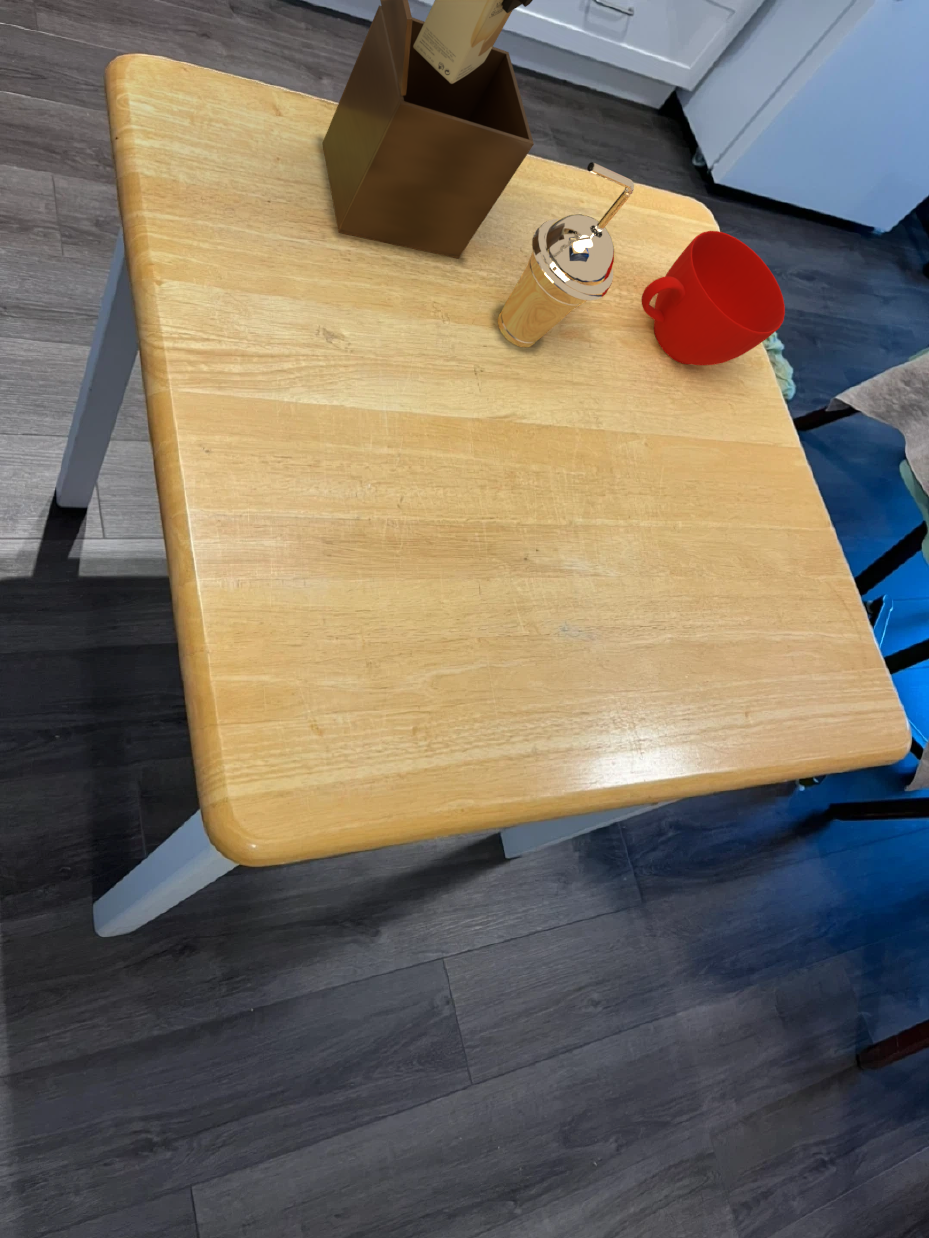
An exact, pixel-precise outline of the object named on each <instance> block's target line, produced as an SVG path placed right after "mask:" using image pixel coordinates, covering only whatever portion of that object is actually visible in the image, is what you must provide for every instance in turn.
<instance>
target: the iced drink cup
mask: <svg viewBox="0 0 929 1238" xmlns="http://www.w3.org/2000/svg"><path fill="white" fill-rule="evenodd" d="M586 169H587V172H589V173H592V174H593V175H596V176H598V177H600V178H602V179H605V180H608V181H609V182H611V183H614V184H616V185H618V186H620V187H623V188H624V189H623V191H622V192H621V193H620V195H619V196H618V197H617V198H616V200H615V201H614V202H613V203H612V205H611V206H610V207H609V208H608V210H606V212H605V214H604V215H603V216H602V217H601V218H600V220H597V219H596V218H595V217H592V216H590V215H586V214H580V213H579V214H578V213H577V214H575V213H574V214H569V215H567V216H563V217H561V218H552V219H548V220H546V221H545V222H543V223H542V224H541V225H540V226H539V227H537V228H536V229H535V231H534V233H533V235H532V238H531V239H532V240H531V247H532V251H531V255H530V257H529V258H528V261H527V265H526V267H525V268H524V270H523V272H522V274H521V276H520V277H519V279H518V281H517V283H516V284H515V286H514V288H513V289H512V291H511V292H510V295H509V297H508V298H507V300H506V302H505V303H504V305H503V306H502V307H503V308H502V310H501V312H500V313H499V314H498V317H497V326H498V328H499V330H500V333H501V334H502V335H503V337H504V338H505V339H506V340H507V341H508V342H510V343H511V344H512V345H514V346H517V347H520V348H531V347H533V346H534V345H535V343H536V342H537V341H538V340H541V339H542V338H543V337H544V336H545V335H546V334H547V333H548V332H550V330H552V329H553V328H554V327H555V326H556V325H558V324H559V323H560V322H561V321H562V320H563V319H564V318H565V317H566V316H567V315H569V314H570V313H571V312H572V311H574V309H577V308H579V307H580V306H581V305H583V304H584V303H586V302H587V301H588V302H593V301H597V300H599V299H602V298H603V297H604V296H606V294H607V293H608V292H609V290H610V287H611V286H612V284H613V280H614V268H613V267H614V263H615V259H616V250H615V249H616V248H615V244H614V241H613V238H612V236H611V234H610V232H609V231H608V229H607V227H606V226H607V225H608V224H609V223H610V221H612V219H613V218H614V217H615V215H616V214H617V213H618V212H619V210H620V209H621V208H622V207H623V206H624V204H625V203H627V201H628V200H629V198H630V197H631V196H632V195H633V193H634V191H635V184H634V182H633V180H632V179H630V178H628V177H626V176H624V175H622V174H619V173H617V172H615V171H613V170H610V169H609V168H606V167H604V166H602V165H600V164H598V163H595V162H593V161H591V162H589V163H588V164H587V168H586Z"/></svg>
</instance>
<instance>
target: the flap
mask: <svg viewBox="0 0 929 1238" xmlns="http://www.w3.org/2000/svg"><path fill="white" fill-rule="evenodd" d="M380 6H382V10H383V15H384V19H385V24H386V29H387V33H388V38H389V42H390V47H391V51H392V56H393V60H394V65H395V69H396V74H397V78H398V83H399V87H400V92H401V95H406V90H407V78H408V66H409V54H410V42H411V30H412V17H413V16H412V12H411V7H410V2H409V0H380Z"/></svg>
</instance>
